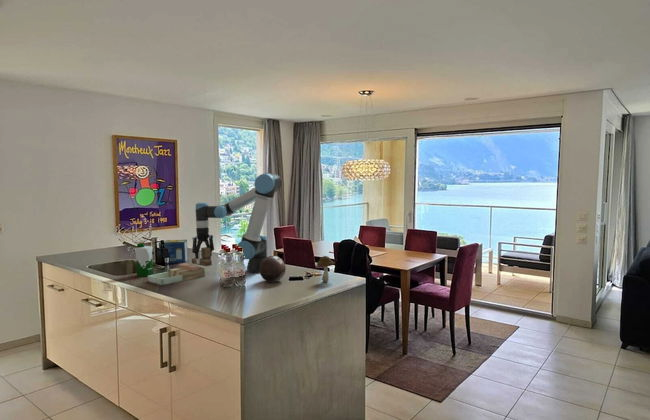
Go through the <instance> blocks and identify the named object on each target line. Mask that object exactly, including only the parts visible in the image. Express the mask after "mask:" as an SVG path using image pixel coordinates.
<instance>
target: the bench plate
mask: <svg viewBox="0 0 650 420" xmlns="http://www.w3.org/2000/svg"><path fill="white" fill-rule="evenodd" d="M205 271H206V270H205V267H201V266H198V269H197V270H188V269H183V268H179V266H177V267H175V268H169V269H168V272H169V277H174V276H179V275H182V280H183V281H182V282H184V281H188V280H193V279H196V278H202V277H206V275H205V274H206V272H205Z"/></svg>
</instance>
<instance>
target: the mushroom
mask: <svg viewBox="0 0 650 420" xmlns="http://www.w3.org/2000/svg"><path fill="white" fill-rule="evenodd" d="M316 265H317V267H320V268H322V267H323V273H322V277H321V280H322V282H324V283H327V282H329V277H330V276H329V271H328V269H329V268H328V267H332V266H334V265H335V262H334V261H333V260H332V259H331V258H330V256H328V255H323V256H321V257H320V258H319V260H318V261H317V263H316Z"/></svg>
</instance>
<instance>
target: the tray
mask: <svg viewBox="0 0 650 420" xmlns="http://www.w3.org/2000/svg"><path fill="white" fill-rule="evenodd" d="M147 282H148V283H152V284H155V285H158V286H162V287H163V286H166V285H172V284H176V283H180V282H184V281H183V280H182V275H179V276H174V277H169V271H165V272H160V273H155V274H154V273H153V274H152V275H148V276H147Z"/></svg>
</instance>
